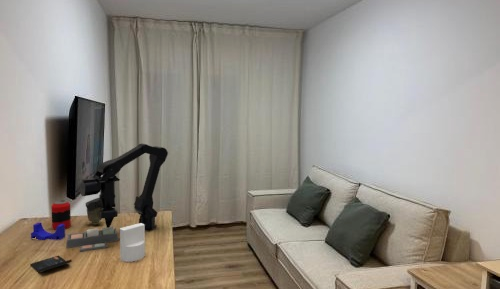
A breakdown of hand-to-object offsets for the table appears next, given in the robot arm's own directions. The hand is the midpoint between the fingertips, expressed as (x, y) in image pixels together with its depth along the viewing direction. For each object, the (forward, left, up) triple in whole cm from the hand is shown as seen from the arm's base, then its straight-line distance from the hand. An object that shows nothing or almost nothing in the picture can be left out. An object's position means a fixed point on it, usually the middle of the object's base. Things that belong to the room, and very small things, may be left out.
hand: (108, 227), depth 142 cm
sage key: (0, 0, -3) cm, 3 cm away
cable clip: (+24, +7, -6) cm, 26 cm away
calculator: (+4, +27, -6) cm, 28 cm away
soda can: (+29, -5, -5) cm, 30 cm away
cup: (+17, -13, -5) cm, 22 cm away
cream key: (+5, +4, -3) cm, 7 cm away
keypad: (+5, +4, -5) cm, 8 cm away
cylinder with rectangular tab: (-19, +12, -5) cm, 23 cm away
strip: (0, +10, -5) cm, 11 cm away
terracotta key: (+9, +8, -5) cm, 13 cm away
